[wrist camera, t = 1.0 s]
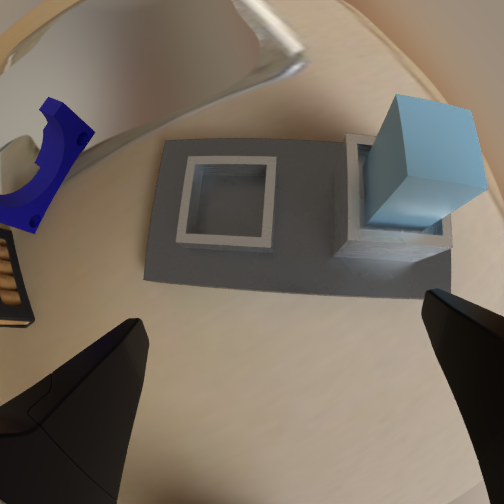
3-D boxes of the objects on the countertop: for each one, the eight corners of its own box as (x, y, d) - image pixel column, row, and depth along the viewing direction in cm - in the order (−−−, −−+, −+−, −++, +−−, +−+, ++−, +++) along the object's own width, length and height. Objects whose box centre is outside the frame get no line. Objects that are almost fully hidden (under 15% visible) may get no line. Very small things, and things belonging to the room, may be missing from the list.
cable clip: (72, 121, 28) (41, 94, 22) (95, 132, 27) (63, 102, 21) (17, 215, 27) (-21, 200, 21) (35, 234, 26) (-6, 220, 20)
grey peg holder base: (432, 166, 22) (472, 121, 15) (438, 299, 21) (493, 295, 13) (173, 151, 25) (136, 103, 18) (154, 282, 24) (101, 271, 16)
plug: (418, 172, 16) (470, 110, 10) (422, 230, 16) (487, 188, 9) (362, 165, 17) (396, 94, 10) (364, 225, 16) (407, 175, 10)
